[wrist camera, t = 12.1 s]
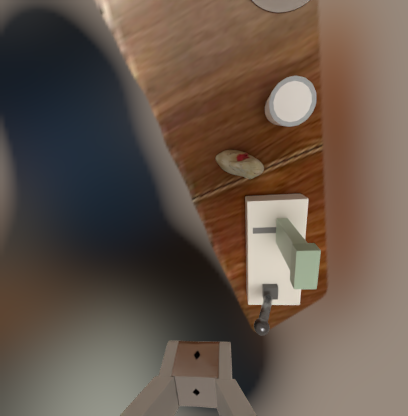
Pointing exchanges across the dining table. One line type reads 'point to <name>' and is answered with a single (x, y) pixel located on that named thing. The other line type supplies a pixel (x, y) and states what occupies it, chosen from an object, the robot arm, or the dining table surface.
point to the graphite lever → (263, 316)
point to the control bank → (271, 247)
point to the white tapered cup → (291, 102)
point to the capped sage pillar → (298, 255)
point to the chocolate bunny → (239, 163)
